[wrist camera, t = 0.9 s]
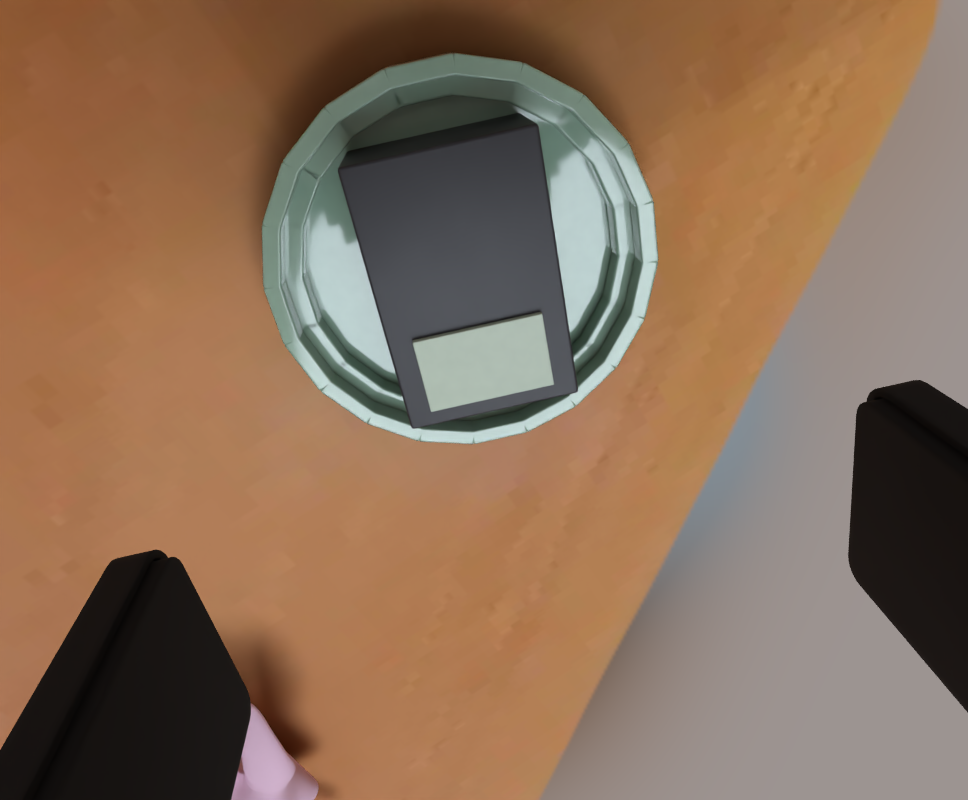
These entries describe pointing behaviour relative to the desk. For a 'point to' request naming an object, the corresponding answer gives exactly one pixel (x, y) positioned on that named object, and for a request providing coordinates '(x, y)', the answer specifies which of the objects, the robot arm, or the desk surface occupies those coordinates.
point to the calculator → (463, 267)
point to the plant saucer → (340, 267)
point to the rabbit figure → (270, 767)
